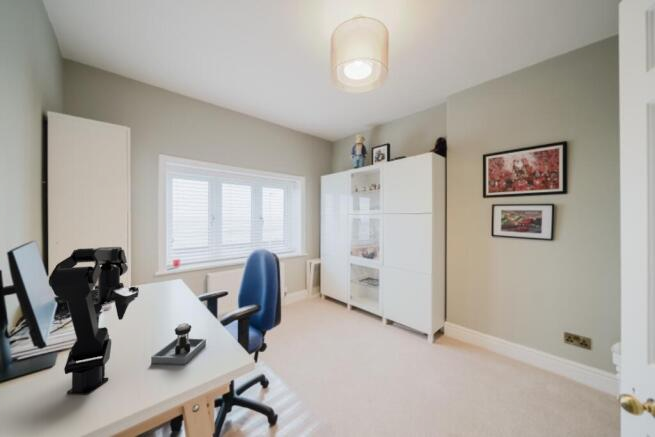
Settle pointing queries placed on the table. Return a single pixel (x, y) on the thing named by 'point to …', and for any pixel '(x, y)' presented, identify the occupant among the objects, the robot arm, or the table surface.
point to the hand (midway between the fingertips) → (108, 324)
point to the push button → (182, 339)
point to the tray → (178, 359)
